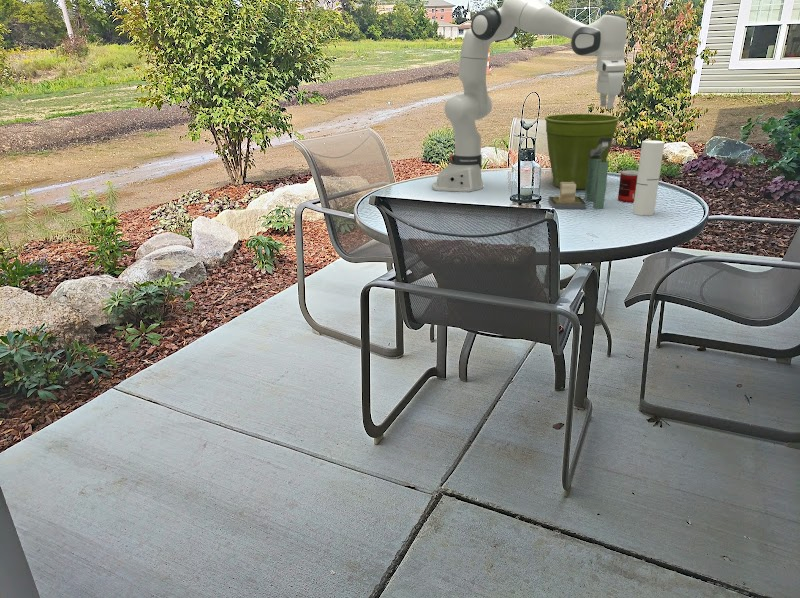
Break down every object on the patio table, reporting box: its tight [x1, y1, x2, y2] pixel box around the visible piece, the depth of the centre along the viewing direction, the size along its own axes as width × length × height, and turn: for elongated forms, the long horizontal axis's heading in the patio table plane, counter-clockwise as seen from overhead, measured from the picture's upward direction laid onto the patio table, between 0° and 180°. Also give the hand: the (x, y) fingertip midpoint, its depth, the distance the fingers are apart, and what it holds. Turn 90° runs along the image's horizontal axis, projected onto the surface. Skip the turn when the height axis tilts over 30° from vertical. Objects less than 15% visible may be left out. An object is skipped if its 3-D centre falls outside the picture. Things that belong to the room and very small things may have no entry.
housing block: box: [558, 182, 577, 201], centre depth 222 cm, size 5×5×6 cm
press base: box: [547, 157, 609, 210], centre depth 223 cm, size 19×17×17 cm
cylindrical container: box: [632, 140, 665, 216], centre depth 206 cm, size 7×7×25 cm
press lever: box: [589, 138, 611, 157], centre depth 218 cm, size 16×4×4 cm, turn 176°
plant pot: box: [544, 113, 620, 190], centre depth 251 cm, size 30×30×29 cm
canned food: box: [617, 169, 638, 203], centre depth 228 cm, size 8×8×11 cm
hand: (606, 107), depth 207 cm, fingers open, 8 cm apart
